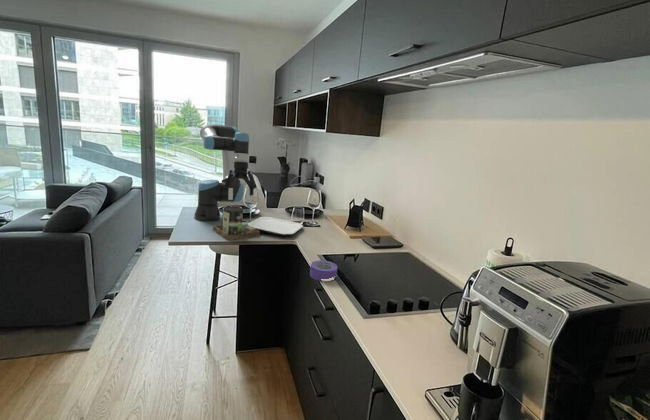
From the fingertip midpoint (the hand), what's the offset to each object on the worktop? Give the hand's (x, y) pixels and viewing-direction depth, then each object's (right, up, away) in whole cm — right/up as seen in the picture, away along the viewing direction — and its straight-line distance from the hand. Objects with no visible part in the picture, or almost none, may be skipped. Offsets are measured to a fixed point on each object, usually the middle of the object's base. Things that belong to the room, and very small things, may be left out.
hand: (240, 200), depth 186 cm
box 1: (-1, -17, +9) cm, 19 cm away
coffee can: (-5, -18, +1) cm, 19 cm away
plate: (+17, -16, +18) cm, 29 cm away
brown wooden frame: (-3, -18, +2) cm, 18 cm away
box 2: (+5, -19, +3) cm, 20 cm away
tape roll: (+46, -34, -38) cm, 69 cm away
